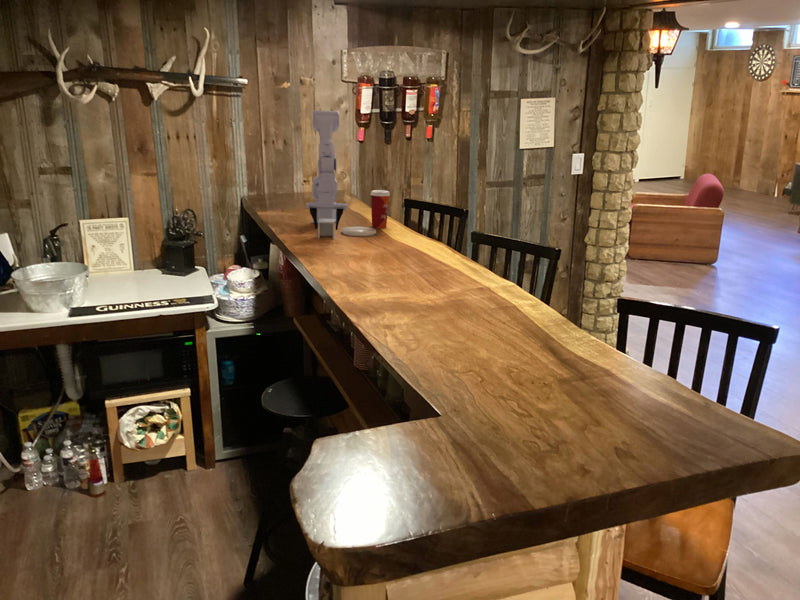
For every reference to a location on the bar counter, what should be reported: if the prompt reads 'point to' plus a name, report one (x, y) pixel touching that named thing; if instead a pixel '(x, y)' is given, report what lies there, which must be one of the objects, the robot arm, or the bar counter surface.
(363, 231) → the ceramic dish
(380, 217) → the paper cup
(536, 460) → the bar counter surface
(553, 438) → the bar counter surface
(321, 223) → the grey open box
